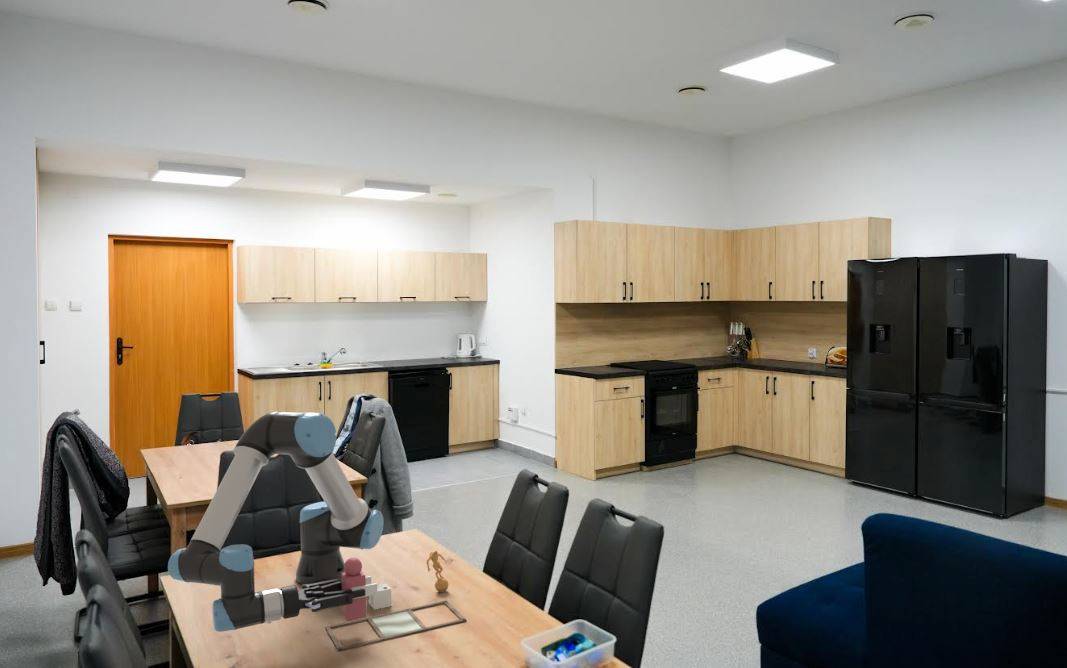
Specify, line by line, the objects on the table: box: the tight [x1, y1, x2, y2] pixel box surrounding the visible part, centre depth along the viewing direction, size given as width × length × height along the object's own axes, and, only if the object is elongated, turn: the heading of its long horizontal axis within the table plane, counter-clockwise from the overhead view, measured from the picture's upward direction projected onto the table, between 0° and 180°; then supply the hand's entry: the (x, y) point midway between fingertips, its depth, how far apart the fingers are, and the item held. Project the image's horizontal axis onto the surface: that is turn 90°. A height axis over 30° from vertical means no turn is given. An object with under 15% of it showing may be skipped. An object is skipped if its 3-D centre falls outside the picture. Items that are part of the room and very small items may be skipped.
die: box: [368, 582, 392, 610], centre depth 210 cm, size 5×5×5 cm
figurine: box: [426, 550, 449, 593], centre depth 219 cm, size 8×6×12 cm
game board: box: [324, 600, 467, 652], centre depth 197 cm, size 15×34×1 cm, turn 118°
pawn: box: [341, 557, 367, 622], centre depth 192 cm, size 5×5×15 cm
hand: (373, 584), depth 194 cm, fingers closed on pawn, 5 cm apart
